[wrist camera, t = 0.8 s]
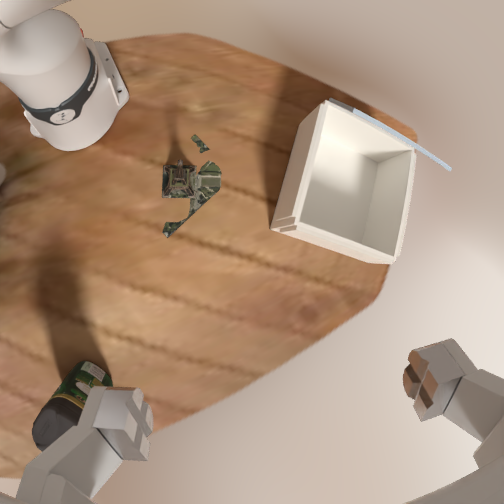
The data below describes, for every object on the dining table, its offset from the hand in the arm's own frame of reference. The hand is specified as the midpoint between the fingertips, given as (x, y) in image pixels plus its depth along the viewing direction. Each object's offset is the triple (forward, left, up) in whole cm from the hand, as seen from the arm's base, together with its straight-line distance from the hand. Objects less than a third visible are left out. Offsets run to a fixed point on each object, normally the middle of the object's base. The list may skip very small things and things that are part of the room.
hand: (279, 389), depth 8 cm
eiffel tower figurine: (-14, +2, -43) cm, 45 cm away
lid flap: (-12, +31, -26) cm, 42 cm away
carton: (-6, +27, -42) cm, 50 cm away
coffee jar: (+13, -24, -42) cm, 50 cm away
